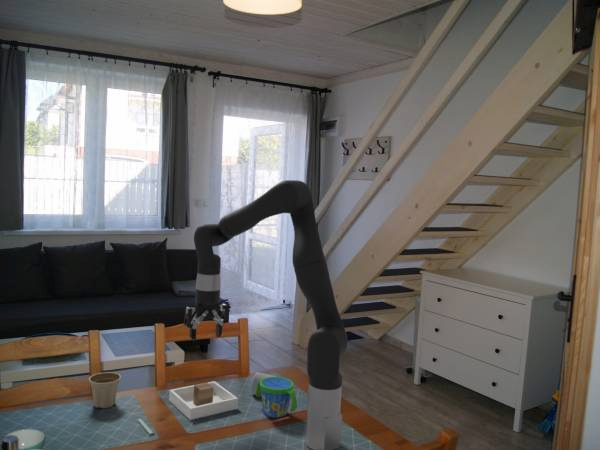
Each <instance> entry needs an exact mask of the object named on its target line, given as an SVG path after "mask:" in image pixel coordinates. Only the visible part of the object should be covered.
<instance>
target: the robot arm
mask: <svg viewBox="0 0 600 450" xmlns="http://www.w3.org/2000/svg"><path fill="white" fill-rule="evenodd" d="M281 214H289V215H290V219H291V221H292V226H293V231H294V237H293V238H294V240H293V246H292V247H293V248H292V265H293V269H294V274H295V278H296V281H297V285H298V288H299V289H300V290H301V292H302V294H303V296H304V298H305V299H306V300H307V302H308V303H309V305H310V307H311V310H312V313H313V315H314V319H315V326H316V331H314V332H313V333H312V334H311V335H310V337H309V339H308V343H307V355H306V356H307V360H306V362H307V363H306V365H307V367H306V370H307V371H306V372H307V375H308V390H307V407H306V423H305V439H304V440H305V441H304V442H305V446H307V447H308V448H309V449H310V450H336V449H340V448H341V443H342V442H341V440H342V427H343V426H342V425H343V414H342V413H341V403H342V401H341V400H342V389H343V375H342V373H341V372H340V358H341V356H342V355H343V354H344V352H346V350H347V347H348V343H349V341H348V340H349V339H348V335H347V332H346V329H345V326H344V323H343V321H342V318H341V315H340V313H339V310H338V306H337V304H336V298H335V293H334V290H333V286H332V281H331V278H330V273H329V272H330V271H329V268H328V265H327V260H326V256H325V254H324V250H323V246H322V242H321V238H320V237H321V236H320V233H319V230H318V225H317V221H316V220H317V219H316V212H315V208H314V200H313V195H312V191H311V189H310V187H309V185H308V184H307V183H306V182H304V181H302V180H298V179H297V180H294V179H293V180H292V179H291V180H290V179H289V180H286V179H285V180H282V181H280V182H278V183H277V184H275V185H274V186H272V187H270V189H268V190H267V191H266V192H265V193H263V194H261V196H259V197H257V198H255V200H253V201H251V202H249V203H247V204H246V205H244V206H241V207H240V208H237V209H235V210H234V211H231V212H229V213H227V214H225V215H224V216H223V217H221V218H220V220H219V221H218V222H217V223H208V224H207V223H206V224H205V223H203V224H200V225H199V226H198V227H197V228H196V229H195V231H194V235H193V243H194V248H195V252H196V253H195V254H196V257H197V275H196V280H195V281H196V282H195V300H194V301H195V306H194V307H189V306H186V307H185V309H184V311H185V312H184V317H183V318H184V319H183V326H185V327H186V328H187V329H188V328H189V338H190V340H192V341H196V340H197V327H198V325H199V324H201V323H202V321H207V320H214V321H215V323H216V324H215V337H217V338H221V336H222V334H223V326H224V325H225V324H227V323H229V321H230V320H229V305H228V304H226V303H221V304H220V302H221V301H220V300H221V268H222V267H221V265H222V263H221V262H222V261H221V256H220V255H218V254H215V253H214V249H213V247H218V246H219V247H220V246H222V245H224V244H226V243H227V242H229V241H231V240H232V239H233V238H235V237H236V236H239V235H241V234H243V233H245V232H247V231H249V230H251V229H253V228H254V227H256V226H257V225H258V224H259V223H260V222H262V221H263V220H265V219H267V218H271V217H274V216H277V215H281ZM219 311H221V316H220V315H219V314H218V313H219ZM194 313H195V314H194ZM193 314H194V316H193Z"/></svg>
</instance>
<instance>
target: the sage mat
mask: <svg viewBox="0 0 600 450" xmlns="http://www.w3.org/2000/svg"><path fill="white" fill-rule="evenodd" d="M137 422H138V424H139V425H141V427H142V428H143V429H144V431H145V432H146V433H147V434H148V435H149V436H154V435H155V433H154V432H153V430H152V429H151V428H150V427H149V426H148V425H147V423H146V422H144V420H143V419H142V418H137Z"/></svg>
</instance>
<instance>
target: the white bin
mask: <svg viewBox="0 0 600 450" xmlns="http://www.w3.org/2000/svg"><path fill="white" fill-rule="evenodd" d="M207 383H208V384H210V385H211V386H212V387H213V403H209V404H204V405H200V406H196V405H195V404H194V403H193V399H194V385H195V384H194V385H188V386H183V387H178V388H173V389H169V392H168V393H169V396H168V397H169V398H168V401H169V402H170V403H171V404H173V406H174V407H176V409H178V411H180V412H181V413H182V414H183V415H184V416H185V417H186V418H187V419H188V420H189V421H191V420H192V421H193V420H196V419H201V418H205V417H210V416H215V415H218V414H222V413H225V412H229V411H235V410H238V401H239V399H238V398H239V397H237V396H236V395H235V394H233V393H231V391H228V390H227V389H226V388H224V387H223V386H221V384H219V383H218V382H217V381H215V380H214V381H209V382H207Z"/></svg>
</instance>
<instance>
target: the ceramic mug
mask: <svg viewBox="0 0 600 450" xmlns="http://www.w3.org/2000/svg"><path fill="white" fill-rule="evenodd" d="M268 377H277V376H275V375H271V374H267V373H262V372H259V371H257V372H255V373H254V375H253V377H252V382H251V388H250V390H251V391H250V392H251V396H256V389H257V385H258V383H259V381H261V380H263V379H264V378H268ZM260 397H262V395H261V396H260Z"/></svg>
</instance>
